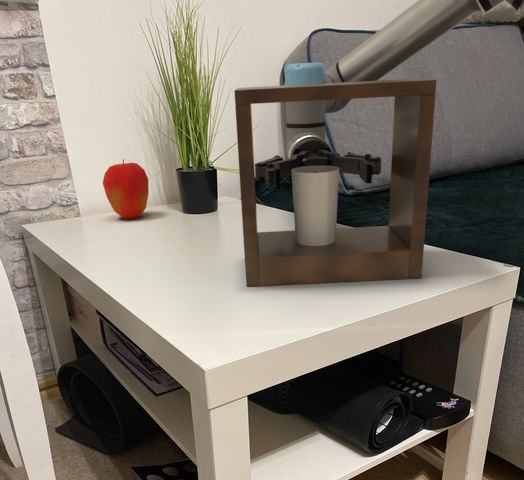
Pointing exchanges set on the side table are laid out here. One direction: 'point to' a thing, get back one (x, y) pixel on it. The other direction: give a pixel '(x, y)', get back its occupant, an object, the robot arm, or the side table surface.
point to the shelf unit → (347, 239)
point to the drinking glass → (315, 204)
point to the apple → (127, 189)
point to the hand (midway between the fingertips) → (323, 176)
